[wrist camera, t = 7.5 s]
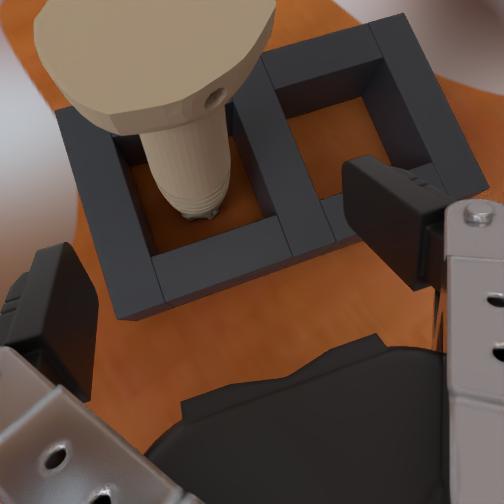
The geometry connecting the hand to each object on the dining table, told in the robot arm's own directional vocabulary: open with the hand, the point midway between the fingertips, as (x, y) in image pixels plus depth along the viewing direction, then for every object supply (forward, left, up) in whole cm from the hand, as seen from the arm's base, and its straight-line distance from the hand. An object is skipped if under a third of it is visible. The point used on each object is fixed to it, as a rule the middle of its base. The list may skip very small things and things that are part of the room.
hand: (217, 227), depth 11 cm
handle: (0, -5, -13) cm, 14 cm away
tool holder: (-5, -5, -13) cm, 15 cm away
